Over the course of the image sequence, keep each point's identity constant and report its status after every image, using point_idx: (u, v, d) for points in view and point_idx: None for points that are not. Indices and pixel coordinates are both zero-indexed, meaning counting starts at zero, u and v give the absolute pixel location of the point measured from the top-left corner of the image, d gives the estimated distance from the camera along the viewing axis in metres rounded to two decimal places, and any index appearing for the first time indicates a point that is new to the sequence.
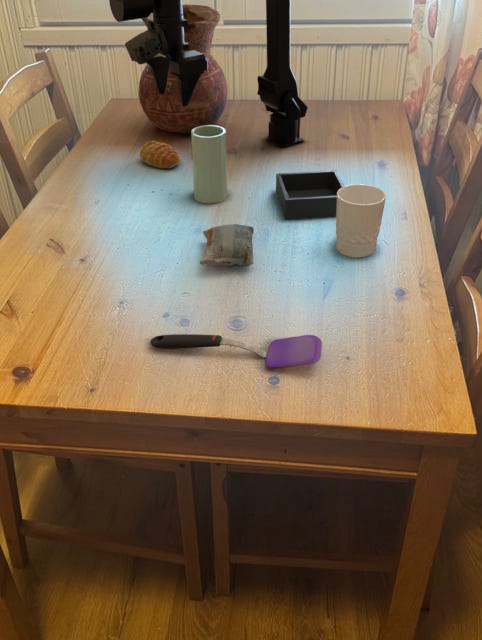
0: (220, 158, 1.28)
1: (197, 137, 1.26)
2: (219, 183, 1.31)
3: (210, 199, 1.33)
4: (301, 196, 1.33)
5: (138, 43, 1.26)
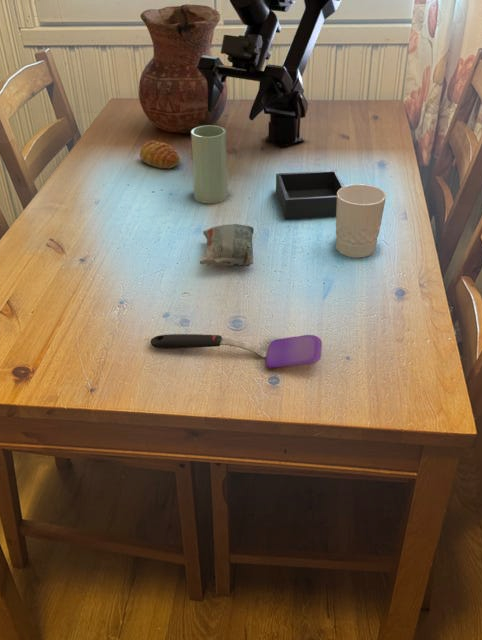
0: (220, 158, 1.28)
1: (197, 137, 1.26)
2: (219, 183, 1.31)
3: (210, 199, 1.33)
4: (301, 196, 1.33)
5: None
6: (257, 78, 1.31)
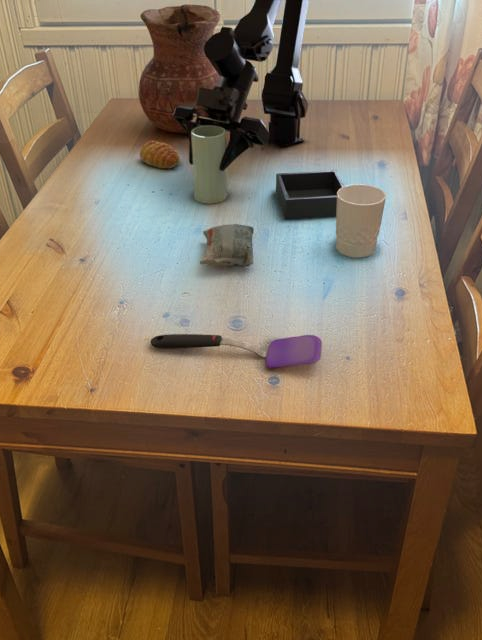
0: (220, 158, 1.28)
1: (197, 137, 1.26)
2: (219, 183, 1.31)
3: (210, 199, 1.33)
4: (301, 196, 1.33)
5: None
6: (233, 130, 1.29)
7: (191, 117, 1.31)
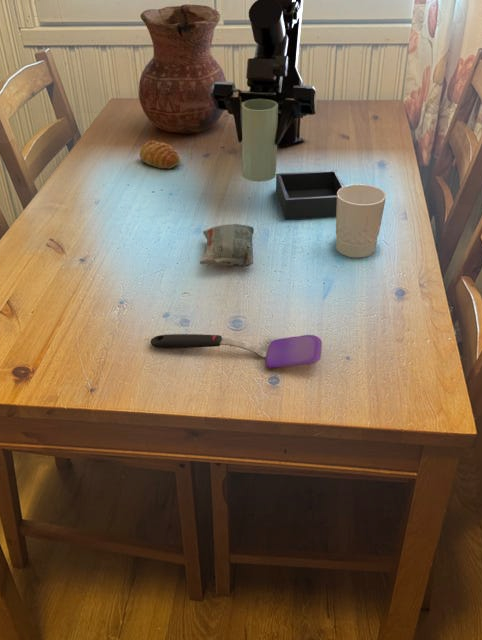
0: (275, 132, 1.22)
1: (253, 111, 1.19)
2: (273, 158, 1.25)
3: (265, 177, 1.26)
4: (301, 196, 1.33)
5: None
6: (280, 101, 1.24)
7: (232, 93, 1.24)
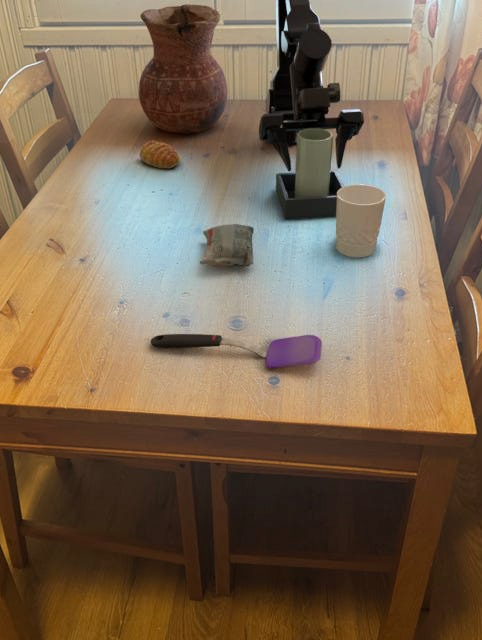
0: (331, 158, 1.26)
1: (316, 142, 1.21)
2: (328, 184, 1.28)
3: None
4: None
5: None
6: (328, 126, 1.27)
7: None
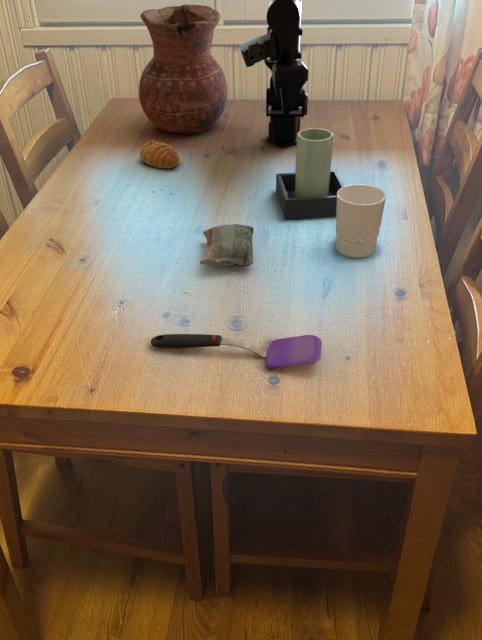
0: (331, 158, 1.26)
1: (316, 142, 1.21)
2: (328, 184, 1.28)
3: None
4: None
5: None
6: None
7: None
